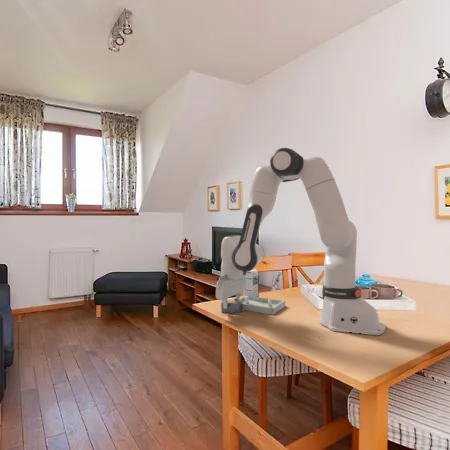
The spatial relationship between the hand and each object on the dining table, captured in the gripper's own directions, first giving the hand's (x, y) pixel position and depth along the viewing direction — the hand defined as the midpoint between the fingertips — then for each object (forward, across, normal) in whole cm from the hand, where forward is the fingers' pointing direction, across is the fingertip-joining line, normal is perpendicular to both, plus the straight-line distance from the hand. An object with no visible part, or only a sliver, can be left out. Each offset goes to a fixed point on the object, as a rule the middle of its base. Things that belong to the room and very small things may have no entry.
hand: (231, 305), depth 140 cm
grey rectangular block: (+3, 0, 0) cm, 3 cm away
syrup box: (+3, +22, +2) cm, 22 cm away
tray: (+2, +11, -7) cm, 13 cm away
